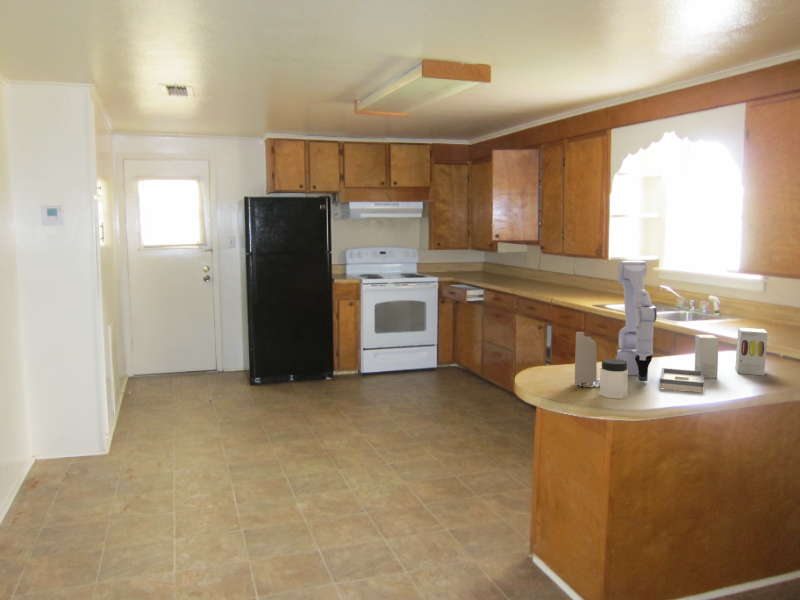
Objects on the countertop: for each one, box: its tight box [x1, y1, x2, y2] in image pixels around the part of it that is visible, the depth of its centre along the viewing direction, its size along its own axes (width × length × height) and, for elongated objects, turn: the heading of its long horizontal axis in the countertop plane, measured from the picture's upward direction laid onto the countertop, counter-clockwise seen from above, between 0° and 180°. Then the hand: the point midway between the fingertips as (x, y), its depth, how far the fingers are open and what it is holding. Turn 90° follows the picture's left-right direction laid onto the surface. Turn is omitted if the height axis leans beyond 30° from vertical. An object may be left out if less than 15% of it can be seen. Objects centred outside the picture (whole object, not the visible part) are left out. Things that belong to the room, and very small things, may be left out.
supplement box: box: [734, 327, 769, 376], centre depth 247 cm, size 10×9×17 cm
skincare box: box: [694, 334, 720, 379], centre depth 241 cm, size 8×7×16 cm
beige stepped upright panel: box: [574, 331, 598, 386], centre depth 229 cm, size 7×14×20 cm, turn 91°
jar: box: [599, 358, 629, 400], centre depth 216 cm, size 9×8×12 cm
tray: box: [659, 367, 705, 394], centre depth 230 cm, size 14×18×4 cm
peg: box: [637, 369, 649, 382], centre depth 232 cm, size 3×3×7 cm
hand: (642, 375), depth 233 cm, fingers closed on peg, 3 cm apart
